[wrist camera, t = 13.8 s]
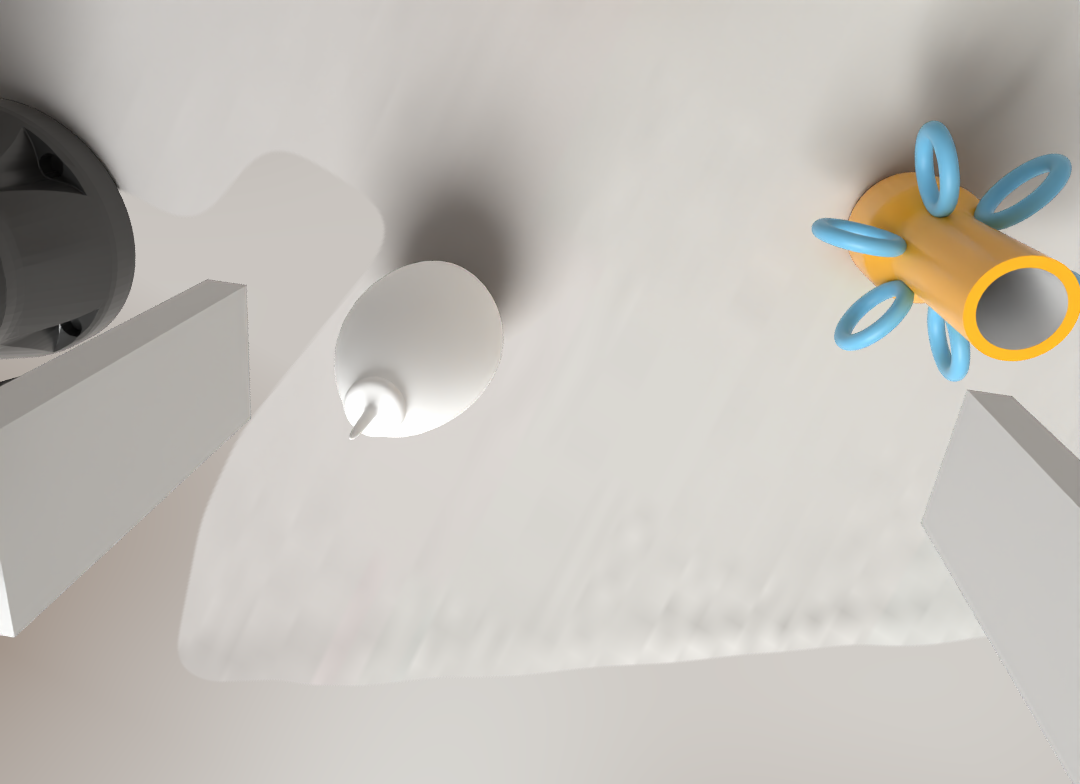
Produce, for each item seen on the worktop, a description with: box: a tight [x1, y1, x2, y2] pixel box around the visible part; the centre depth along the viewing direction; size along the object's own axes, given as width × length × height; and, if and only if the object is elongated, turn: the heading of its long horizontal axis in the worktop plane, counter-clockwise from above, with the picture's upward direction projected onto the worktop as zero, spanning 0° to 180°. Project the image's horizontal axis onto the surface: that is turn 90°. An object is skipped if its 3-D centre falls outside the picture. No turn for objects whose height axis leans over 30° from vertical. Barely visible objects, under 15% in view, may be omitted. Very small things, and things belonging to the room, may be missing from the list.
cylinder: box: [812, 121, 1080, 381], centre depth 37 cm, size 12×10×15 cm
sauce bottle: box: [334, 261, 504, 440], centre depth 40 cm, size 8×8×18 cm
